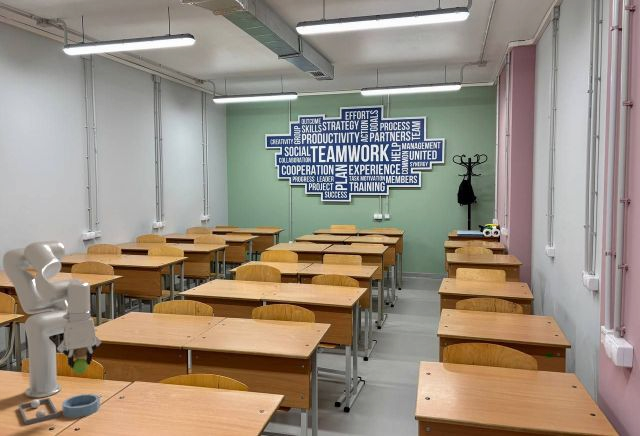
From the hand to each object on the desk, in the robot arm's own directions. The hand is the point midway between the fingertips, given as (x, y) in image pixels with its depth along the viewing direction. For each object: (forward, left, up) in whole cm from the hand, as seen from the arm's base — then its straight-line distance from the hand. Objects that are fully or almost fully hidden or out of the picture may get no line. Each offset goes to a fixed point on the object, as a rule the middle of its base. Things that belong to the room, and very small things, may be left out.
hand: (80, 364), depth 185 cm
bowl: (0, 0, -17) cm, 17 cm away
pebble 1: (-12, -13, -17) cm, 25 cm away
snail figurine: (0, -1, -3) cm, 3 cm away
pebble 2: (-1, -13, -17) cm, 21 cm away
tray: (-7, -13, -17) cm, 22 cm away
